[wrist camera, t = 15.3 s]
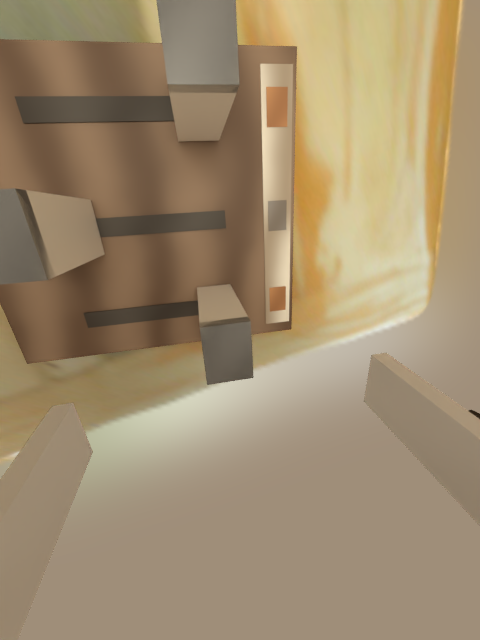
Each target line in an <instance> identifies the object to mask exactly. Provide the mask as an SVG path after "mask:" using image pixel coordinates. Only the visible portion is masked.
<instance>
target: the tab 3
mask: <svg viewBox="0 0 480 640" xmlns="http://www.w3.org/2000/svg"><path fill="white" fill-rule="evenodd" d="M197 295H198V309H199V324H200V333H201V341H202V348H203V356H204V363H205V371H206V379H207V385H209V384H215V383H222V382H228V381H235V380H241V379H248V378H253V360H252V339H251V321H250V319H249V317H248V316H247V314H246V312H245V310H244V308H243V307H242V305H241V303H240V301H239V299H238V298H237V296H236V294H235V292H234V290H233V289H232V287H231V285H230V284H226V285H217V286H207V287H197Z"/></svg>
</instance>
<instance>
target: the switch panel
mask: <svg viewBox="0 0 480 640" xmlns="http://www.w3.org/2000/svg"><path fill="white" fill-rule="evenodd" d="M296 59H297V47H295V46H254V45H238V63H239V84H240V85H239V87H238V90H237V93H236V96H235V98H234V101H233V104H232V107H231V109H230V112H229V115H228V118H227V120H226V123H225V126H224V129H223V131H222V134H221V137H220V139H219V140H218V141H180V142H178V137H177V132H176V127H175V121H174V116H173V110H172V105H171V100H170V94H169V89H168V83H167V76H166V68H165V60H164V53H163V45H162V43H130V42H88V41H47V40H5V39H0V189H13V188H16V189H22V190H29V191H36V192H42V193H49V194H56V195H62V196H69V197H76V198H82V199H89V200H91V203H92V207H93V211H94V214H95V218H96V222H97V226H98V230H99V234H100V238H101V242H102V245H103V249H104V253H105V255H102V256H100V257H98V258H96V259H94V260H91V261H89V262H87V263H85V264H82V265H80V266H78V267H76V268H74V269H71V270H69V271H67V272H65V273H63V274H60V275H58V276H56V277H54V278H51V279H49V280H44V281H33V282H23V283H12V284H1V285H0V304H1V306H2V308H3V310H4V313H5V315H6V317H7V319H8V322H9V324H10V326H11V328H12V331H13V333H14V335H15V337H16V340H17V342H18V344H19V346H20V349H21V351H22V353H23V355H24V358H25V360H26V362H27V364H29V363H36V362H44V361H52V360H59V359H67V358H75V357H82V356H90V355H98V354H105V353H113V352H121V351H128V350H136V349H143V348H151V347H159V346H166V345H174V344H182V343H189V342H197V341H201V333H200V324H199V309H198V295H197V287H207V286H217V285H226V284H230V285H231V287H232V289H233V290H234V292H235V294H236V296H237V298H238V299H239V301H240V303H241V305H242V307H243V308H244V310H245V312H246V314H247V316H248V317H249V319H250V321H251V334H258V333H266V332H273V331H281V330H289V329H291V317H292V265H293V214H294V162H295V111H296Z"/></svg>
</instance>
